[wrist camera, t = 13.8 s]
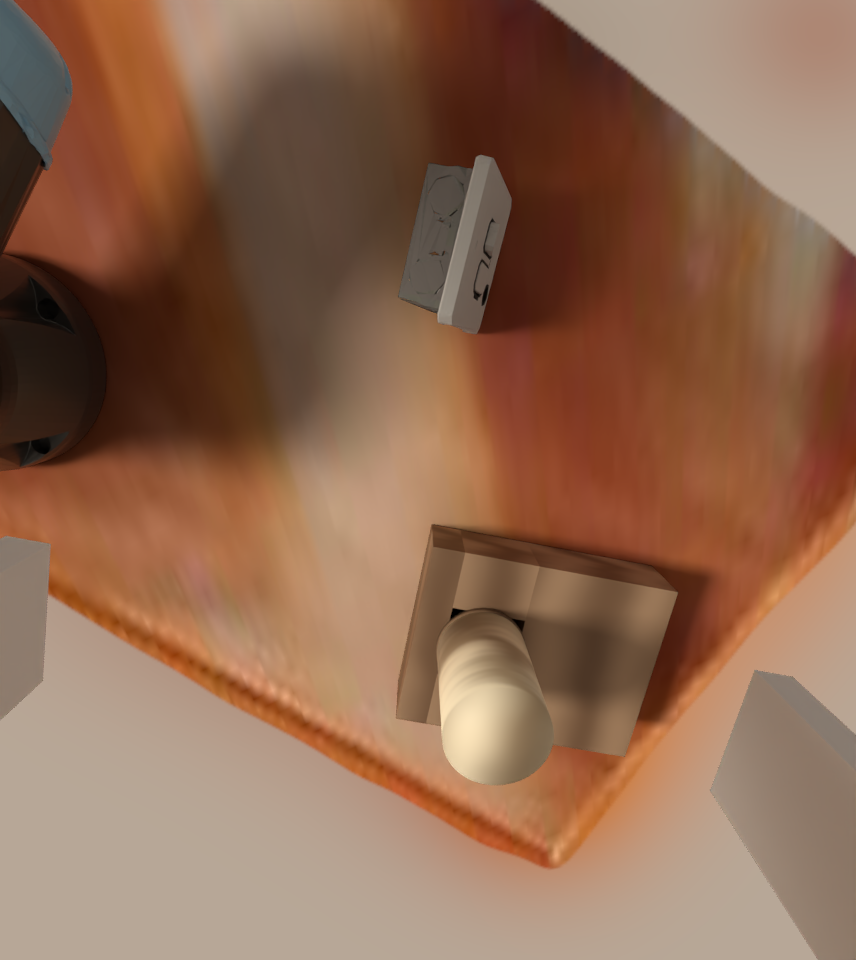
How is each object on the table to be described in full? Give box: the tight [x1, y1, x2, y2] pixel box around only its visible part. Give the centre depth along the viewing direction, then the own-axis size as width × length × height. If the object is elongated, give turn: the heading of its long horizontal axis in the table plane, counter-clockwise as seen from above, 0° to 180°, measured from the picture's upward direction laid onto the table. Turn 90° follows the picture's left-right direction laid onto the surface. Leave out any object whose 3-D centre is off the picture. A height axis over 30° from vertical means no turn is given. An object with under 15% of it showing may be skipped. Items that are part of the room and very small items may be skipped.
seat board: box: [396, 525, 678, 757], centre depth 47 cm, size 18×14×5 cm
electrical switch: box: [398, 155, 512, 334], centre depth 38 cm, size 9×5×9 cm, turn 166°
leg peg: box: [436, 608, 554, 785], centre depth 41 cm, size 6×6×14 cm
